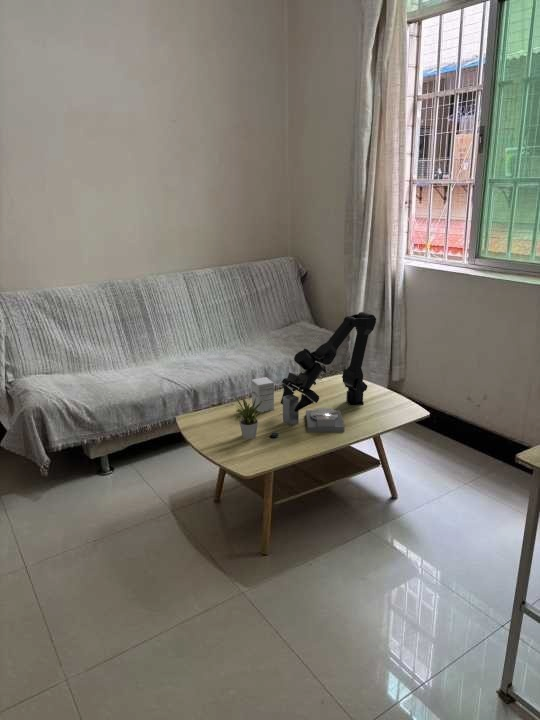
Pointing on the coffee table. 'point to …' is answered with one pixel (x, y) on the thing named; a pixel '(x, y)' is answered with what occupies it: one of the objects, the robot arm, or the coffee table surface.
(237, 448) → the coffee table surface
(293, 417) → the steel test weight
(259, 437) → the coffee table surface
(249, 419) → the house plant
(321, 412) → the scale pan
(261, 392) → the supplement box
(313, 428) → the scale base
